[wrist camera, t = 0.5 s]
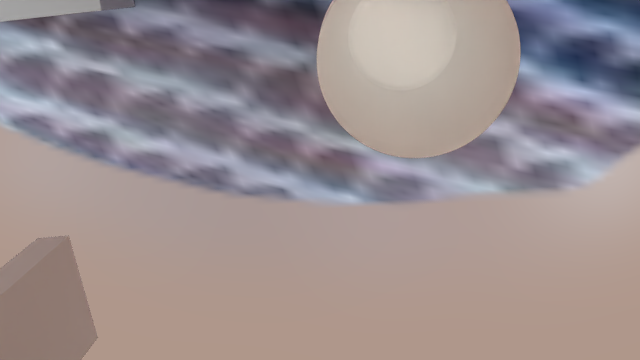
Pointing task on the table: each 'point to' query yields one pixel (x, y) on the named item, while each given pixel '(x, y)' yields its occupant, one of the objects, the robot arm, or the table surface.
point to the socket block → (55, 7)
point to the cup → (417, 71)
